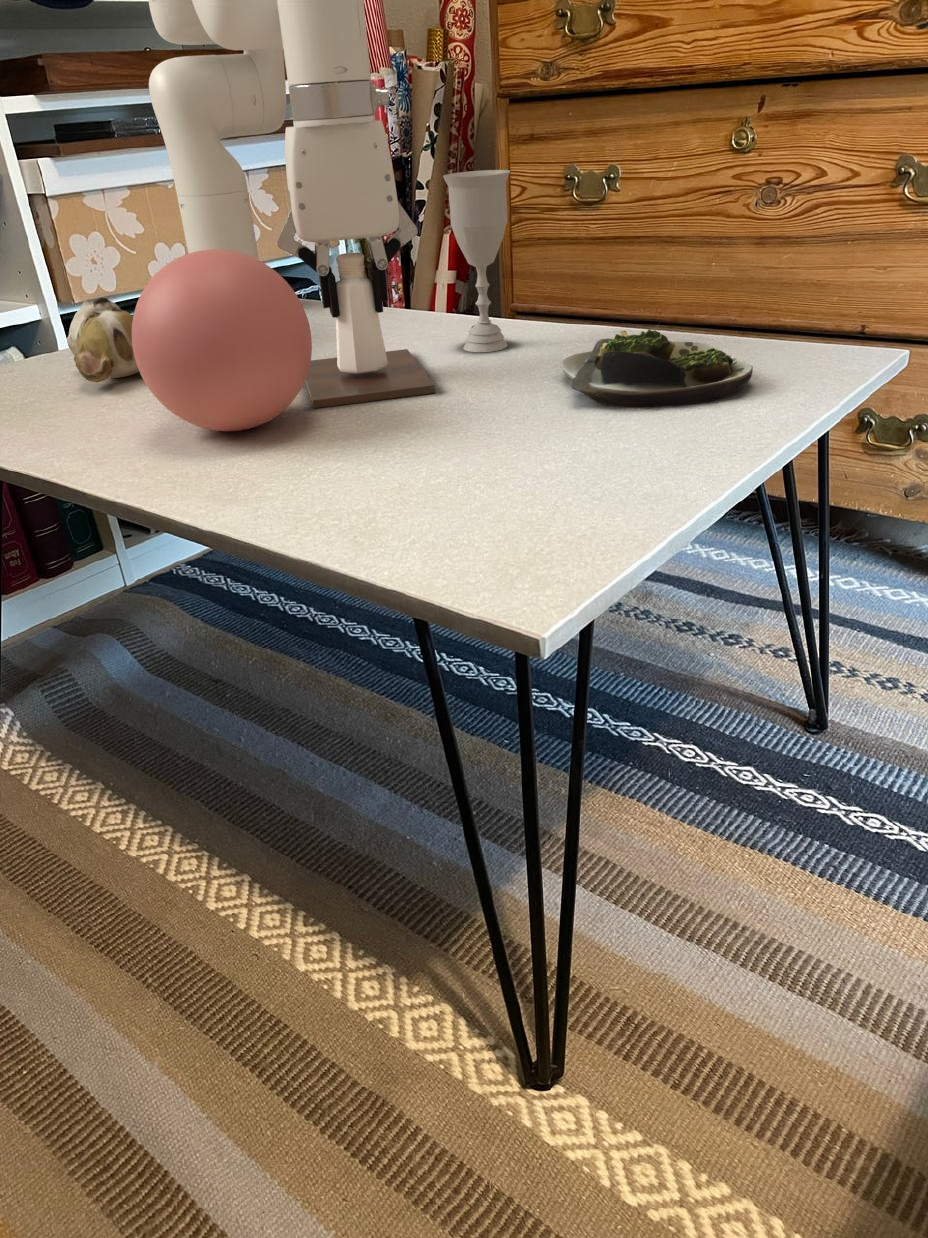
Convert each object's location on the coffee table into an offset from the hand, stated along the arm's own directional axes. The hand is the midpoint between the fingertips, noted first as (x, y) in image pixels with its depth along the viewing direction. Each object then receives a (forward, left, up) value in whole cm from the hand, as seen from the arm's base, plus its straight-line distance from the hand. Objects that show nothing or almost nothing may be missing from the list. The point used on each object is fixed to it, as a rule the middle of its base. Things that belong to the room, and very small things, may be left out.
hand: (356, 310), depth 96 cm
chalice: (-8, +15, -7) cm, 18 cm away
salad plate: (+14, +26, -7) cm, 30 cm away
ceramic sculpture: (-15, -26, -7) cm, 31 cm away
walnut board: (0, 0, -7) cm, 7 cm away
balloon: (+9, -14, -7) cm, 18 cm away
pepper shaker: (0, 0, -6) cm, 6 cm away
